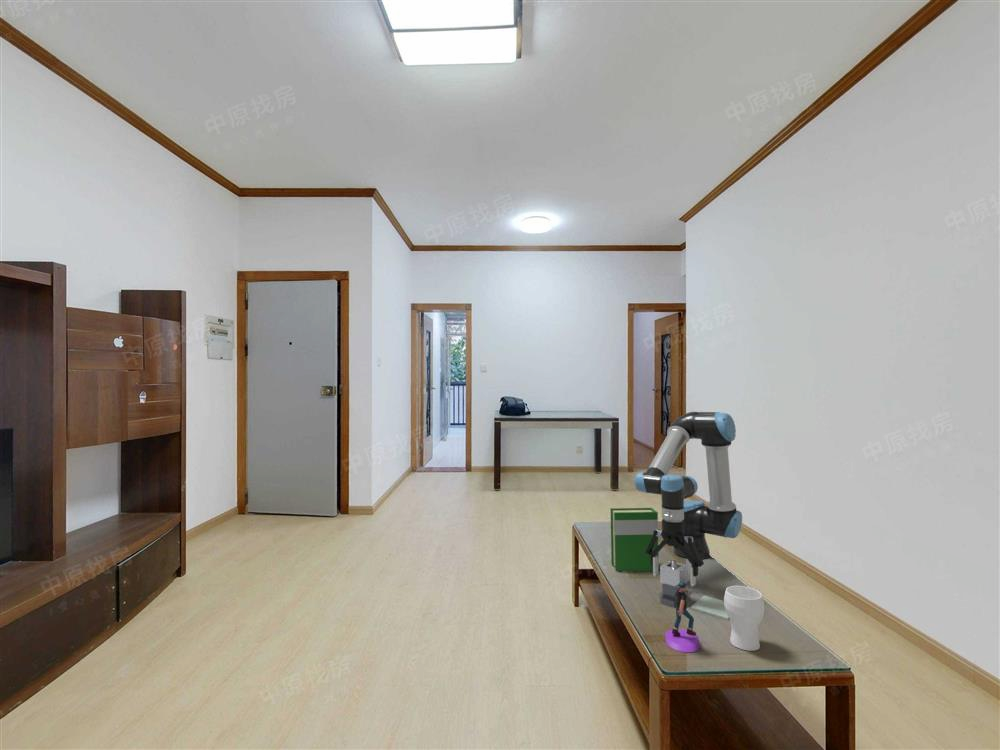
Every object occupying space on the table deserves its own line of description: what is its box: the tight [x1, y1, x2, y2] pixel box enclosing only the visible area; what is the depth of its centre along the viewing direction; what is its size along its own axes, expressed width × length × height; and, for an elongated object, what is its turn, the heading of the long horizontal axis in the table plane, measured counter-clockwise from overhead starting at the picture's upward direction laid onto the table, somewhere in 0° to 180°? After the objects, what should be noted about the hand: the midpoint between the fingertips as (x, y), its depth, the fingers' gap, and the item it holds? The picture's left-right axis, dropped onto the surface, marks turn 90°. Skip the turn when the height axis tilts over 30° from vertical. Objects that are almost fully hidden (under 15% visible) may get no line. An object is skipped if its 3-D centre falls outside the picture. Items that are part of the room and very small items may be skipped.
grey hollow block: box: [659, 560, 689, 587], centre depth 171 cm, size 7×7×6 cm
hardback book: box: [610, 507, 660, 572], centre depth 201 cm, size 18×7×24 cm, turn 90°
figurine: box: [665, 582, 700, 653], centre depth 142 cm, size 9×9×18 cm
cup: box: [723, 585, 766, 652], centre depth 142 cm, size 11×11×15 cm
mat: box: [690, 594, 730, 621], centre depth 164 cm, size 12×12×1 cm
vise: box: [659, 559, 689, 608], centre depth 172 cm, size 16×5×14 cm, turn 137°
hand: (674, 579), depth 171 cm, fingers open, 13 cm apart
